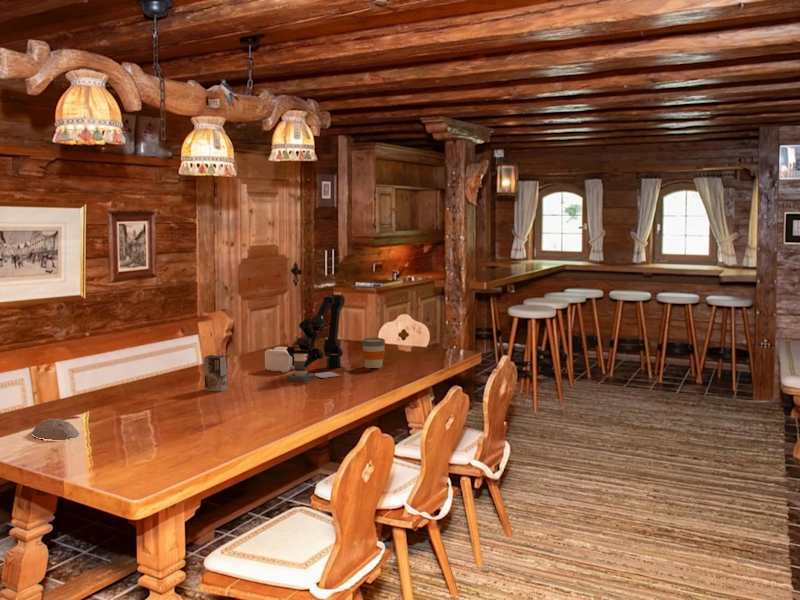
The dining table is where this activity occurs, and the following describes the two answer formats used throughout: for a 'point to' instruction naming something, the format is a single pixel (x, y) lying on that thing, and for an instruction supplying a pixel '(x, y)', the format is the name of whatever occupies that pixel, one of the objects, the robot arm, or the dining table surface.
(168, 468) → the dining table surface
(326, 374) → the rubber mat
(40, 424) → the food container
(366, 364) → the reusable coffee cup
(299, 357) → the cable reel
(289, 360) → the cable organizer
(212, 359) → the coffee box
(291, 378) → the reel dock
